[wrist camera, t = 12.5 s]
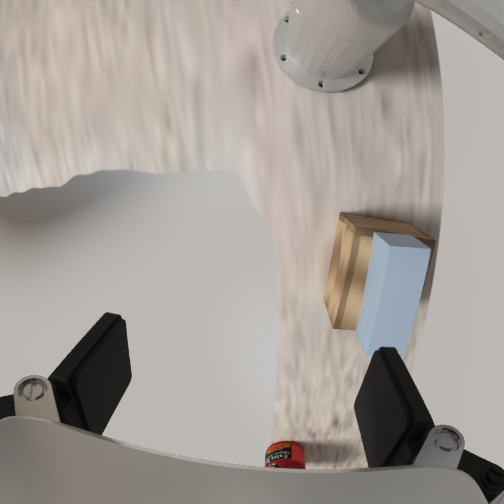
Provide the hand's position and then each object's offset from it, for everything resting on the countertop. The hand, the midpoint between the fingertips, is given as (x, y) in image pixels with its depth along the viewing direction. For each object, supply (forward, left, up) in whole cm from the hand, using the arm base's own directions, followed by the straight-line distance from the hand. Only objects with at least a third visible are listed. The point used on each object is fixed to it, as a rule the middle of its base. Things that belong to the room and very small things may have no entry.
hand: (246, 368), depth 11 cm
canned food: (+46, +10, -31) cm, 56 cm away
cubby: (+5, +14, -30) cm, 34 cm away
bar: (+5, +14, -22) cm, 27 cm away
